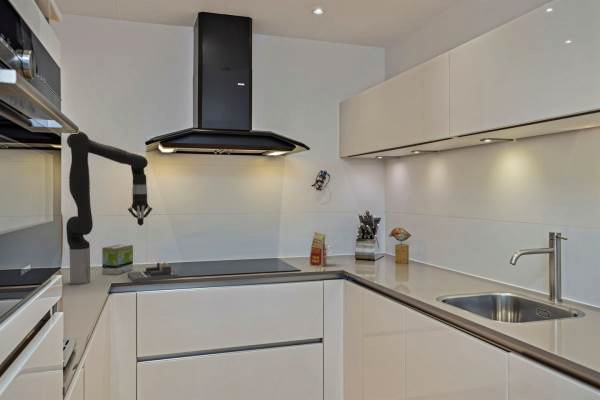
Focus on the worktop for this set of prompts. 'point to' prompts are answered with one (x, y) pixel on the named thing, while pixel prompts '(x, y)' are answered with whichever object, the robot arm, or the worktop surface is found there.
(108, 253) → the tea box
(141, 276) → the breaker panel
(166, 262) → the breaker
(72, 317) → the worktop surface
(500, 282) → the worktop surface
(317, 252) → the red food bag
